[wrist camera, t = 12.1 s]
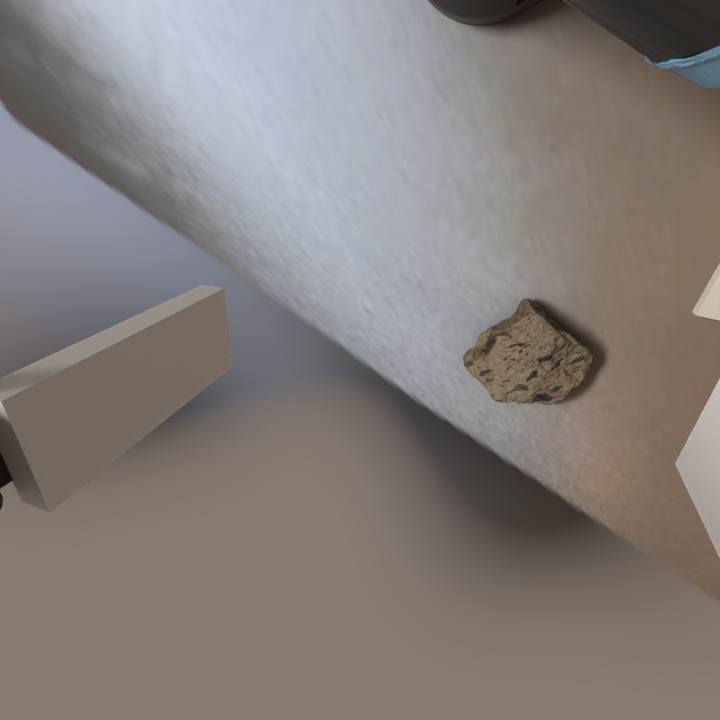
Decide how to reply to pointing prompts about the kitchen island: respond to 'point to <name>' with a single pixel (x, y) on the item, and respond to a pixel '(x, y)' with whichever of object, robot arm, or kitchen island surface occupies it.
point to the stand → (710, 299)
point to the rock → (528, 358)
